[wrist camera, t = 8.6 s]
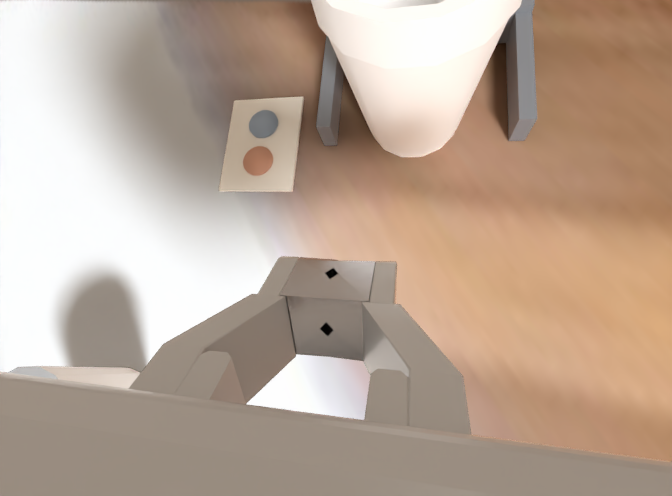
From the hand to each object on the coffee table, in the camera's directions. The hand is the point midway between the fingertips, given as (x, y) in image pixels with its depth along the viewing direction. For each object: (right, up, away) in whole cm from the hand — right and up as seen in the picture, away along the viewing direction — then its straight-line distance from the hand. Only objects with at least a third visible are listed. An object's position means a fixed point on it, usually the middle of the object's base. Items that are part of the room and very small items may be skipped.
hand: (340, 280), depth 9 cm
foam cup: (+6, +10, +17) cm, 21 cm away
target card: (-6, +9, +19) cm, 22 cm away
